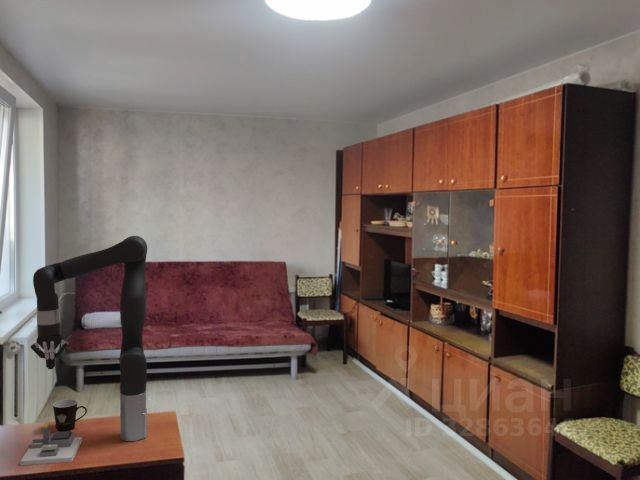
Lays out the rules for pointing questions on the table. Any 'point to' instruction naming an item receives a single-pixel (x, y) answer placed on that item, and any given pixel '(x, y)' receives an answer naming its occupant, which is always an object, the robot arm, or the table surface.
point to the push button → (61, 435)
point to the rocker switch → (49, 447)
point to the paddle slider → (45, 432)
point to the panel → (51, 451)
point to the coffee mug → (66, 414)
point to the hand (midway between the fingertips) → (51, 368)
